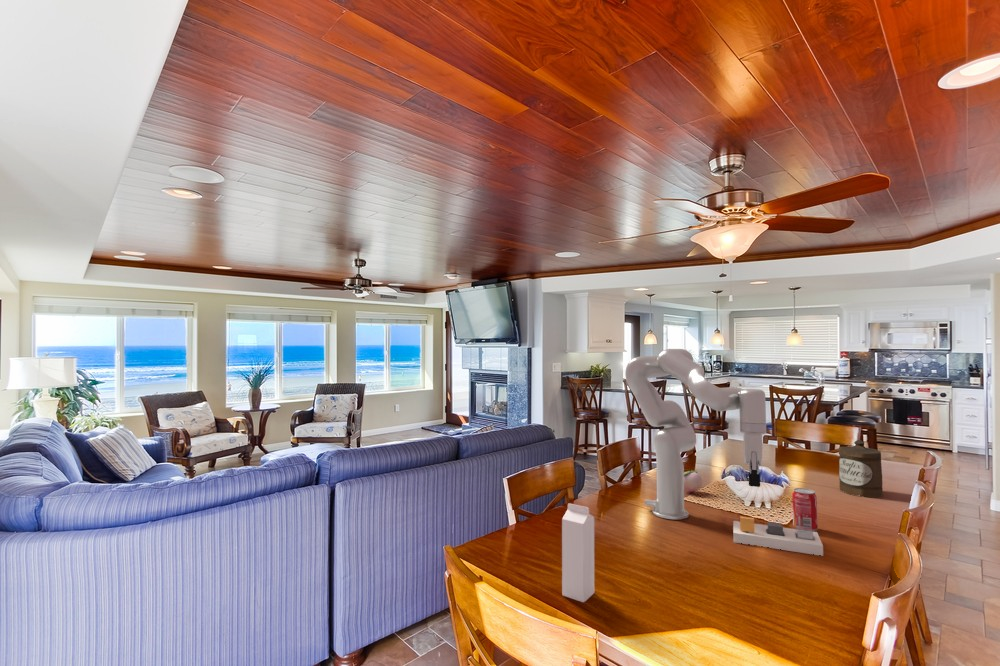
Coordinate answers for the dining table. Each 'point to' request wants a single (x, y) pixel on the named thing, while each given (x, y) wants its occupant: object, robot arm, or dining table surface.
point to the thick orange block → (746, 524)
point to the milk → (577, 553)
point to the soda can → (805, 508)
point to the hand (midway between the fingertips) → (754, 485)
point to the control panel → (777, 539)
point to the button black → (775, 528)
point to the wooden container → (860, 470)
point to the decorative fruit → (692, 481)
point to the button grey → (804, 532)
